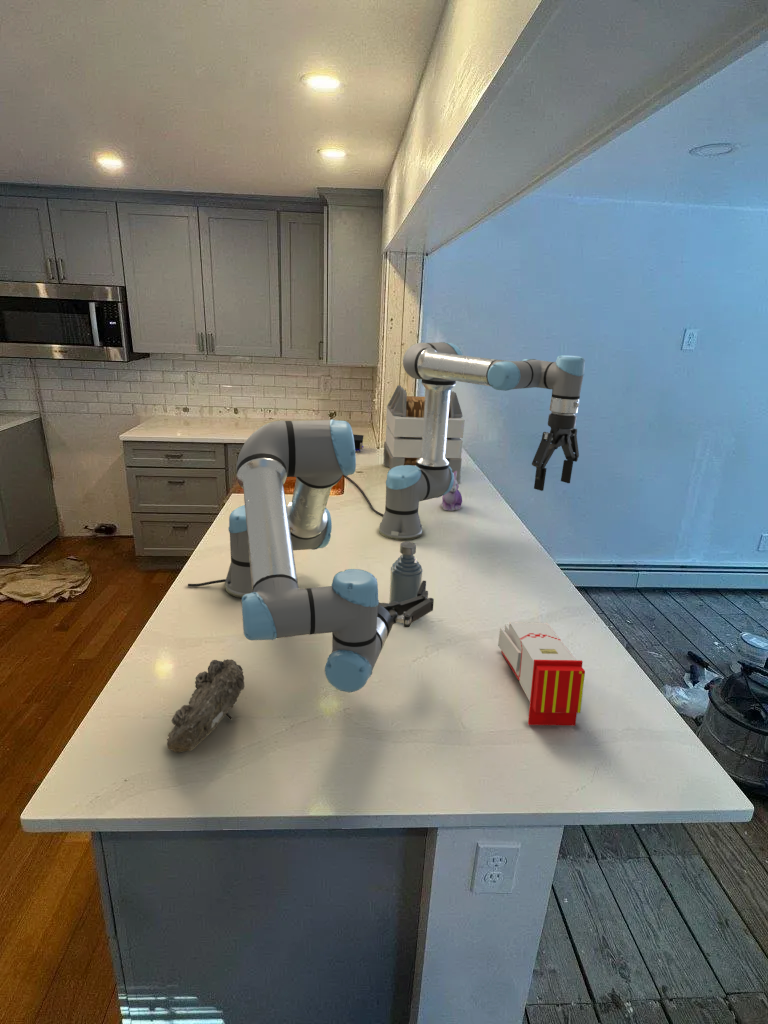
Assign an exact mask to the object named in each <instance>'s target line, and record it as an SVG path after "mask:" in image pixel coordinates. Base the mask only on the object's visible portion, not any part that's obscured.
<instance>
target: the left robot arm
mask: <svg viewBox="0 0 768 1024" xmlns="http://www.w3.org/2000/svg"><path fill="white" fill-rule="evenodd" d="M353 434H354V432H353V428H352V425H351V424H350V423H349V421H347V420H337V419H333V418H332V419H317V420H314V419H309V420H275V421H270V422H269V423H265V424H263V425H262V426H260V427H259V428H257V429H256V430H255V431H253V432H252V433H251V435H250V436H249V437H248V438H247V439H246V440H245V442H244V444H243V445H242V447H241V449H240V452H239V453H238V457H237V461H236V466H235V467H236V469H235V470H236V480H237V483H238V485H239V486H240V488H242V490H243V501H244V504H243V505H241V506H240V505H239V506H238V507H237V508H235V509H233V510H232V511H231V513H230V514H229V517H228V518H229V519H228V527H227V528H228V532H229V548H230V549H229V550H230V551H229V552H230V564H229V568H228V571H227V573H226V578H224V579H217V580H210V581H205V582H200V583H187V587H192V588H193V587H204V586H208V585H214V584H220V583H221V584H222V583H224V585H225V592H227V594H228V595H230V596H232V597H235V598H238V599H241V615H242V630H243V635H244V637H245V639H247V640H249V641H275V640H276V639H283V638H291V637H297V636H298V637H299V636H307V635H318V634H319V635H320V634H330V633H331V635H332V637H331V638H332V641H331V642H332V643H331V645H332V647H331V653H330V654H329V655H328V656H327V659H326V663H325V665H324V675H325V678H326V679H327V681H328V683H329V684H330V685H331V686H332V687H333V688H335V689H336V690H338V691H340V692H344V693H355V692H357V691H360V690H361V689H363V688H364V687H365V685H366V684H367V682H368V680H369V679H370V678H371V676H372V675H373V670H374V668H375V666H376V664H377V661H378V659H379V656H380V655H381V652H382V650H383V648H384V645H385V644H386V641H387V639H388V637H389V635H390V632H391V630H392V628H393V626H394V625H395V624H396V623H400V624H403V628H405V629H408V628H410V627H411V625H412V624H413V623H414V622H416V621H417V620H419V619H421V618H423V617H425V616H427V615H428V614H430V613H431V612H433V611H434V603H435V601H434V600H435V599H434V598H433V597H429V591H428V590H427V589H426V588H427V580H422V584H421V586H420V588H419V591H418V593H417V597H415V598H411V599H408V600H405V601H402V602H399V603H398V602H396V601H395V602H392V603H389V602H380V600H379V586H378V585H379V584H378V579H377V577H376V576H375V575H374V574H372V573H371V572H369V571H367V570H364V569H360V568H348V569H344V571H339V572H337V573H335V574H334V576H333V579H332V583H331V585H327V586H316V587H315V586H314V587H308V588H307V587H306V588H300V587H299V583H298V575H297V569H296V562H295V555H294V551H304V550H305V551H307V550H311V551H312V550H313V551H314V550H318V549H323V548H326V547H327V546H328V544H329V543H330V541H331V538H332V537H331V536H332V535H331V533H332V531H333V530H332V529H333V525H332V523H333V521H332V515H331V513H330V510H329V509H328V508H327V504H328V501H329V498H330V495H331V493H332V492H331V491H332V489H333V487H334V486H335V485H337V484H338V483H339V482H340V481H341V479H342V478H343V475H345V476H347V477H349V476H351V475H354V474H355V472H356V469H357V468H356V467H357V458H356V457H357V455H356V450H355V444H354V437H353ZM345 476H344V477H345ZM288 478H295V483H294V487H293V493H292V498H291V501H290V502H289V503H288V504H287V502H286V494H285V487H284V484H285V483H286V481H287V479H288ZM393 608H394V609H393Z"/></svg>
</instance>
